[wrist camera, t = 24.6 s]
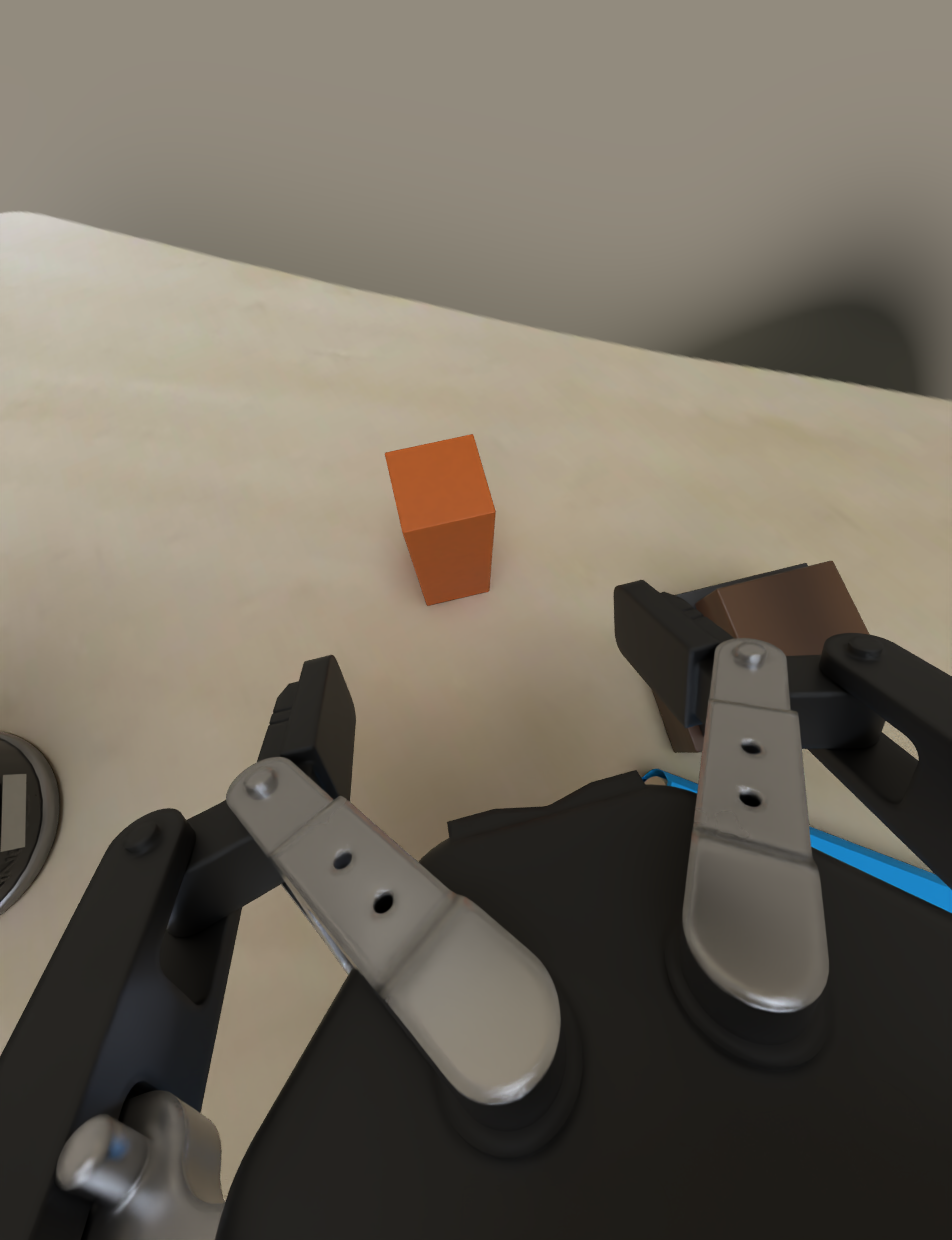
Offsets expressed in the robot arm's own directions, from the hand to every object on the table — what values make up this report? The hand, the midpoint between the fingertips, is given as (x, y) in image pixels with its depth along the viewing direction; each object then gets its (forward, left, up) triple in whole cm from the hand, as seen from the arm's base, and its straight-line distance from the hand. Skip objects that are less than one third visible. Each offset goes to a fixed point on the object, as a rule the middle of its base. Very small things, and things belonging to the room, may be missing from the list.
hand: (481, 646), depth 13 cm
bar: (-2, +7, -12) cm, 14 cm away
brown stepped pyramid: (+13, +3, -12) cm, 18 cm away
